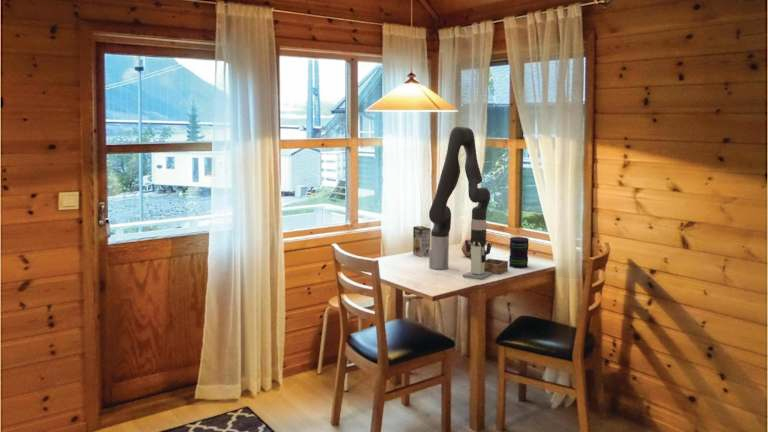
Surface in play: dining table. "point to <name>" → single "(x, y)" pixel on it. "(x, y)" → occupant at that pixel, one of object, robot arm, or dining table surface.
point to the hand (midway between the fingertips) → (477, 261)
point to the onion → (465, 250)
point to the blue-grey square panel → (477, 275)
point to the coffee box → (421, 241)
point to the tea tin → (476, 260)
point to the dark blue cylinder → (518, 252)
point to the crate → (495, 266)
